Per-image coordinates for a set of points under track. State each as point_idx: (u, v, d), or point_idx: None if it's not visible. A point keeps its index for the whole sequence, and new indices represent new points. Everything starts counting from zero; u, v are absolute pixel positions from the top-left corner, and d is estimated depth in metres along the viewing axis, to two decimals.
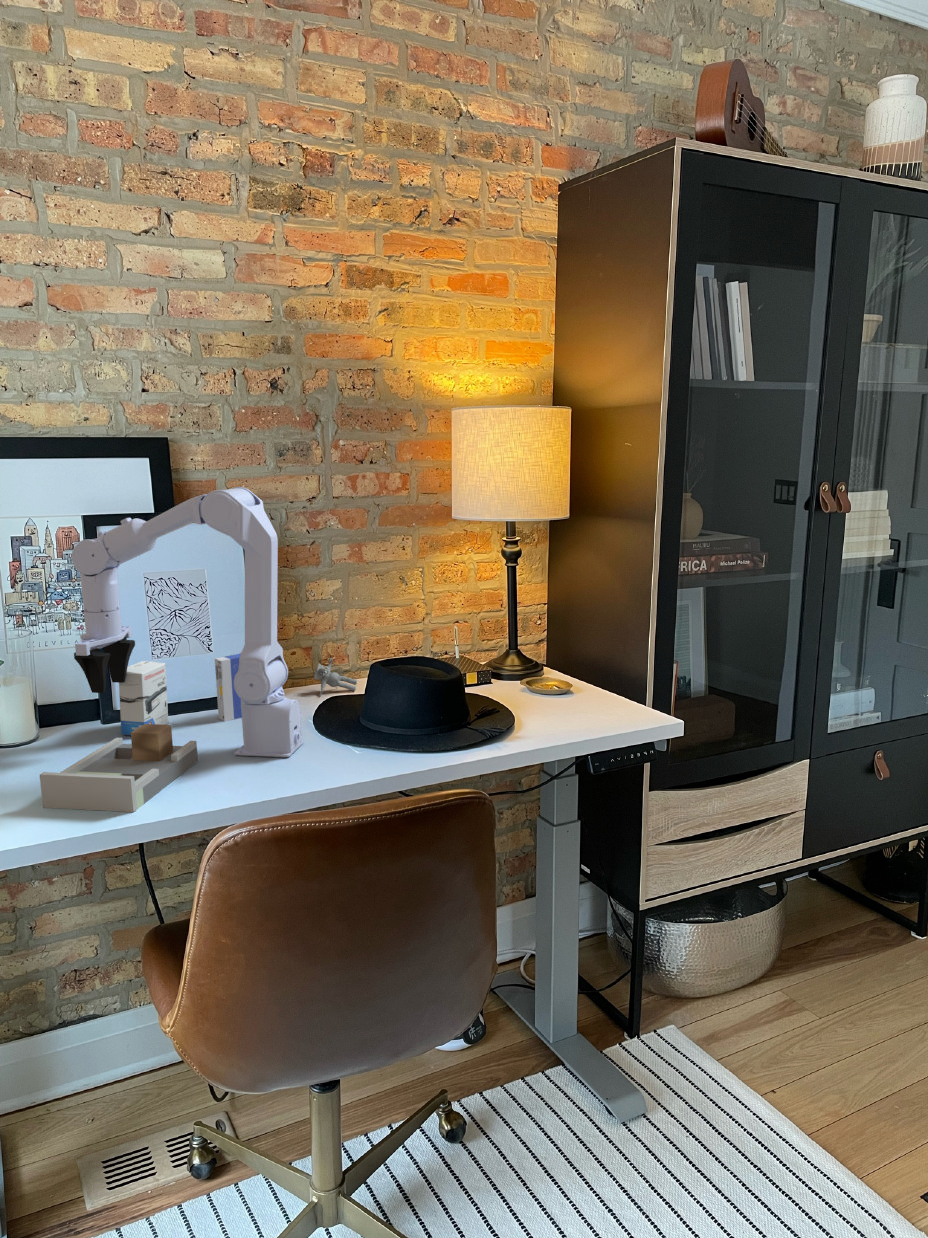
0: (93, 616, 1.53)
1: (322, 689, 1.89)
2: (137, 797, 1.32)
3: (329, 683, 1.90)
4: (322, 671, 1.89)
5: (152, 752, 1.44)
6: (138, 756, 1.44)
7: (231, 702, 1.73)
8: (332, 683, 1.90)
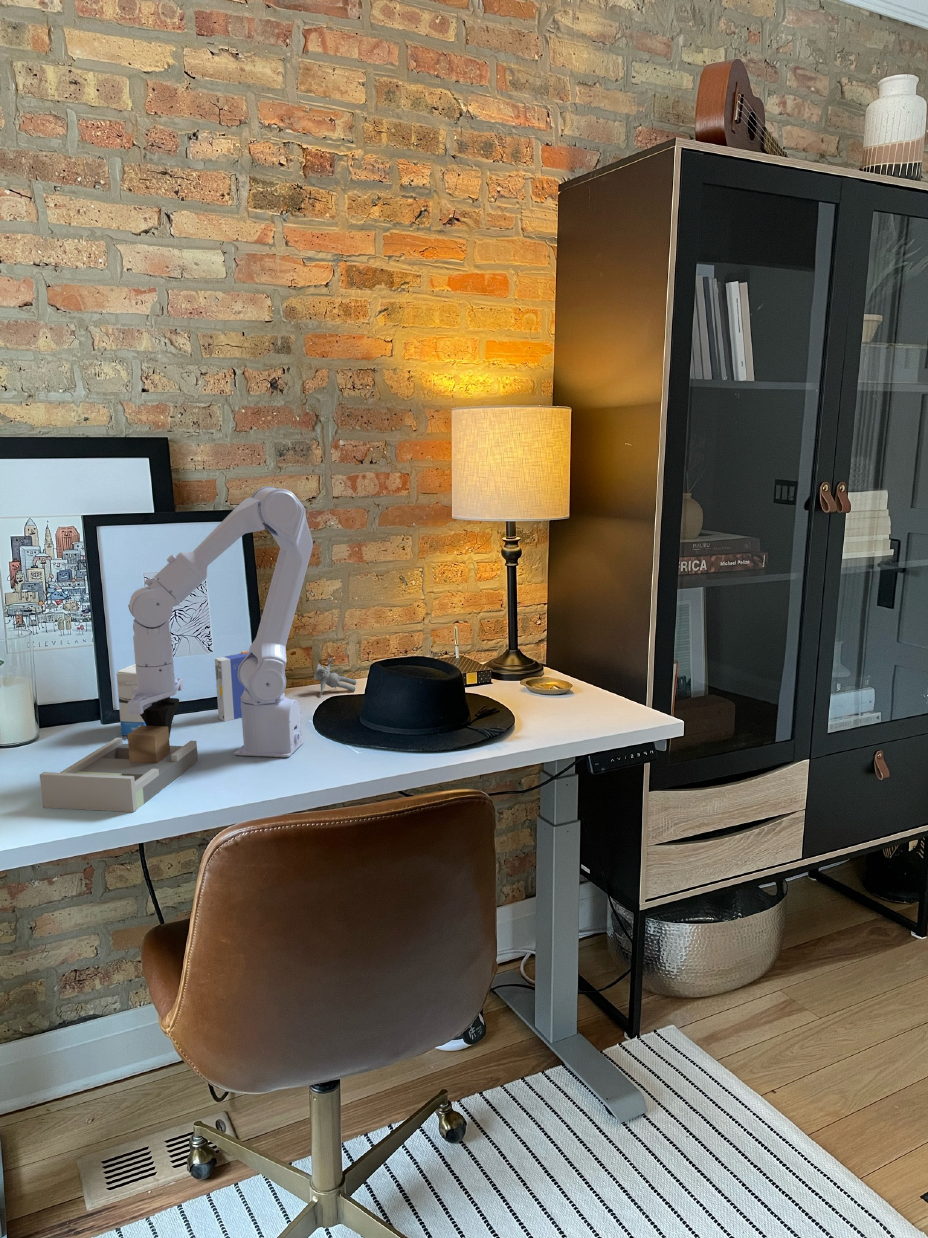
0: (146, 671, 1.44)
1: (322, 690, 1.88)
2: (137, 797, 1.32)
3: (329, 684, 1.90)
4: (322, 671, 1.89)
5: (149, 754, 1.43)
6: (135, 758, 1.44)
7: (231, 702, 1.73)
8: (331, 683, 1.90)
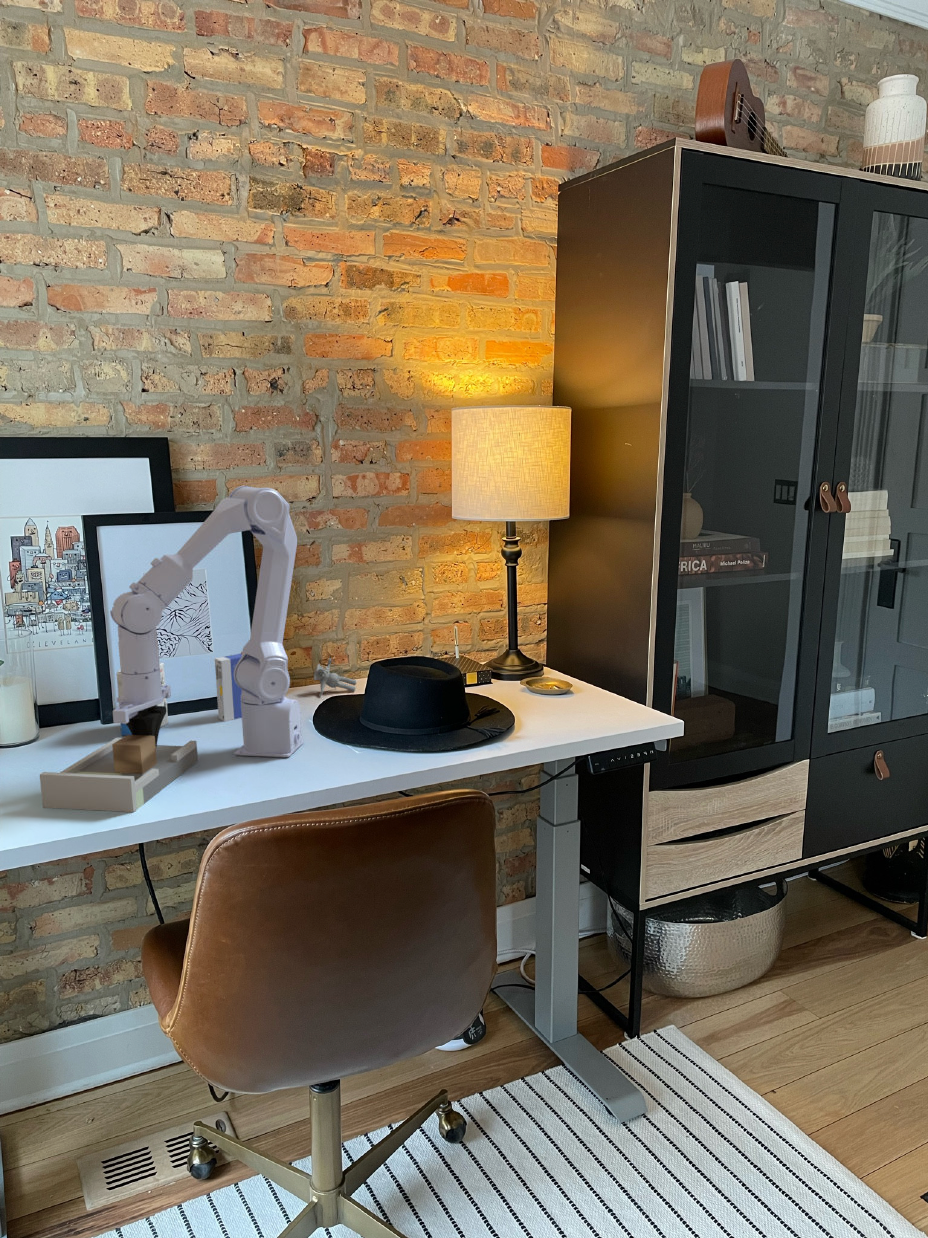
0: (131, 678, 1.39)
1: (322, 690, 1.88)
2: (137, 797, 1.32)
3: (329, 684, 1.90)
4: (322, 672, 1.88)
5: (135, 764, 1.39)
6: (120, 768, 1.39)
7: (231, 702, 1.73)
8: (331, 683, 1.89)
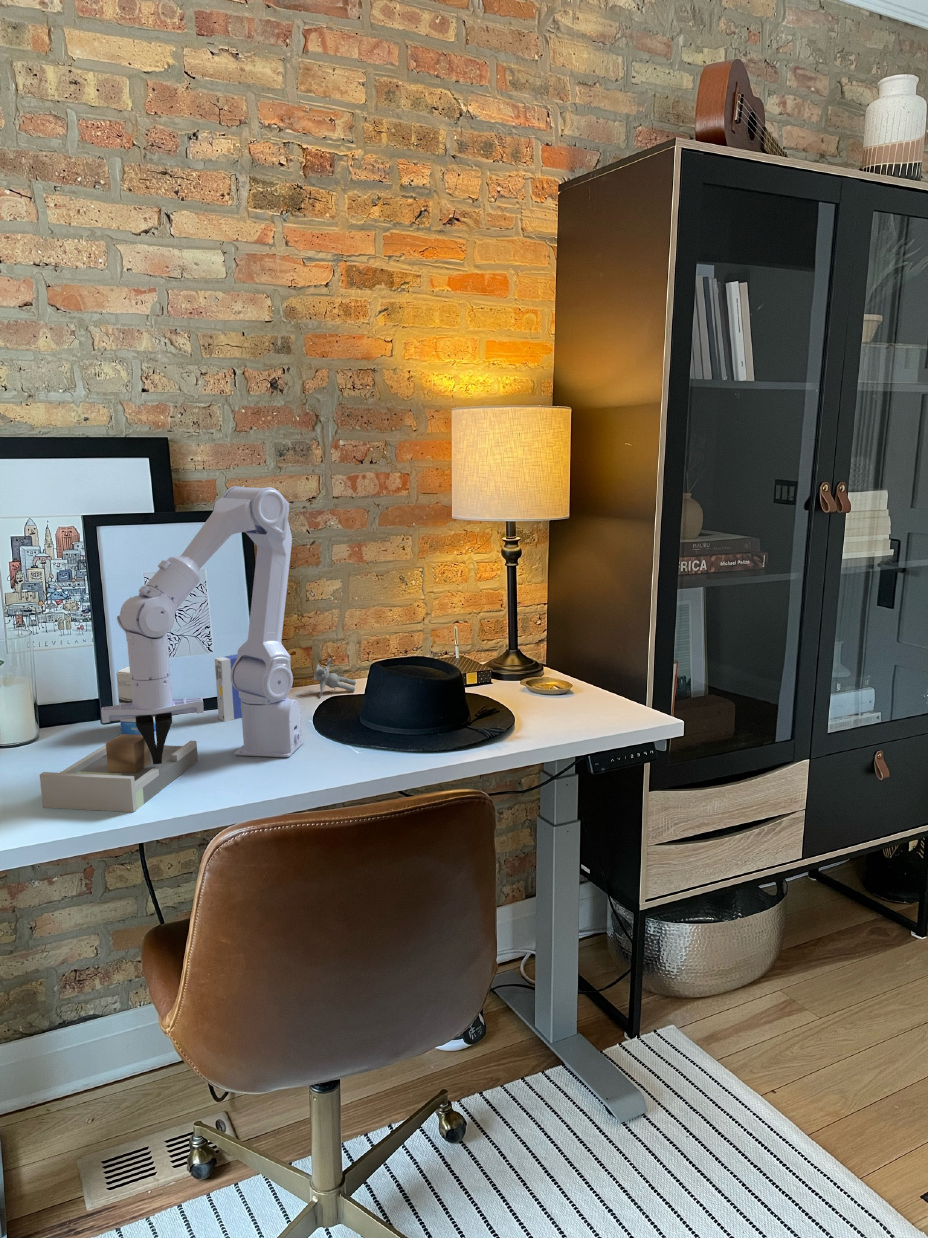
0: None
1: (322, 690, 1.88)
2: (137, 797, 1.32)
3: (329, 684, 1.90)
4: (321, 672, 1.88)
5: (128, 763, 1.39)
6: (114, 767, 1.39)
7: (231, 702, 1.73)
8: (331, 683, 1.89)
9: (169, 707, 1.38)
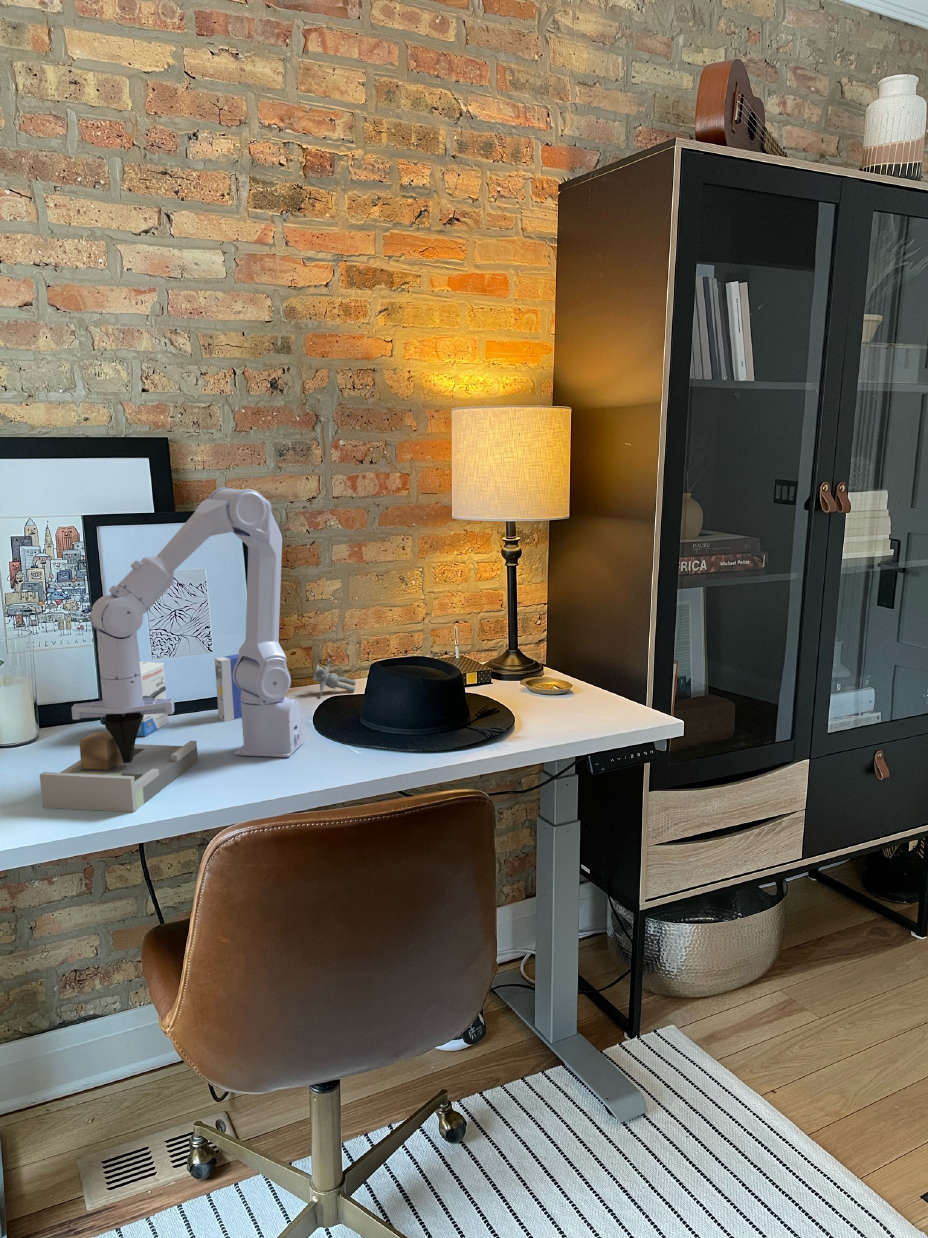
0: None
1: (322, 690, 1.88)
2: (137, 797, 1.32)
3: (328, 685, 1.89)
4: (321, 672, 1.88)
5: (101, 760, 1.40)
6: (87, 764, 1.40)
7: (231, 702, 1.73)
8: (331, 684, 1.89)
9: (136, 707, 1.38)
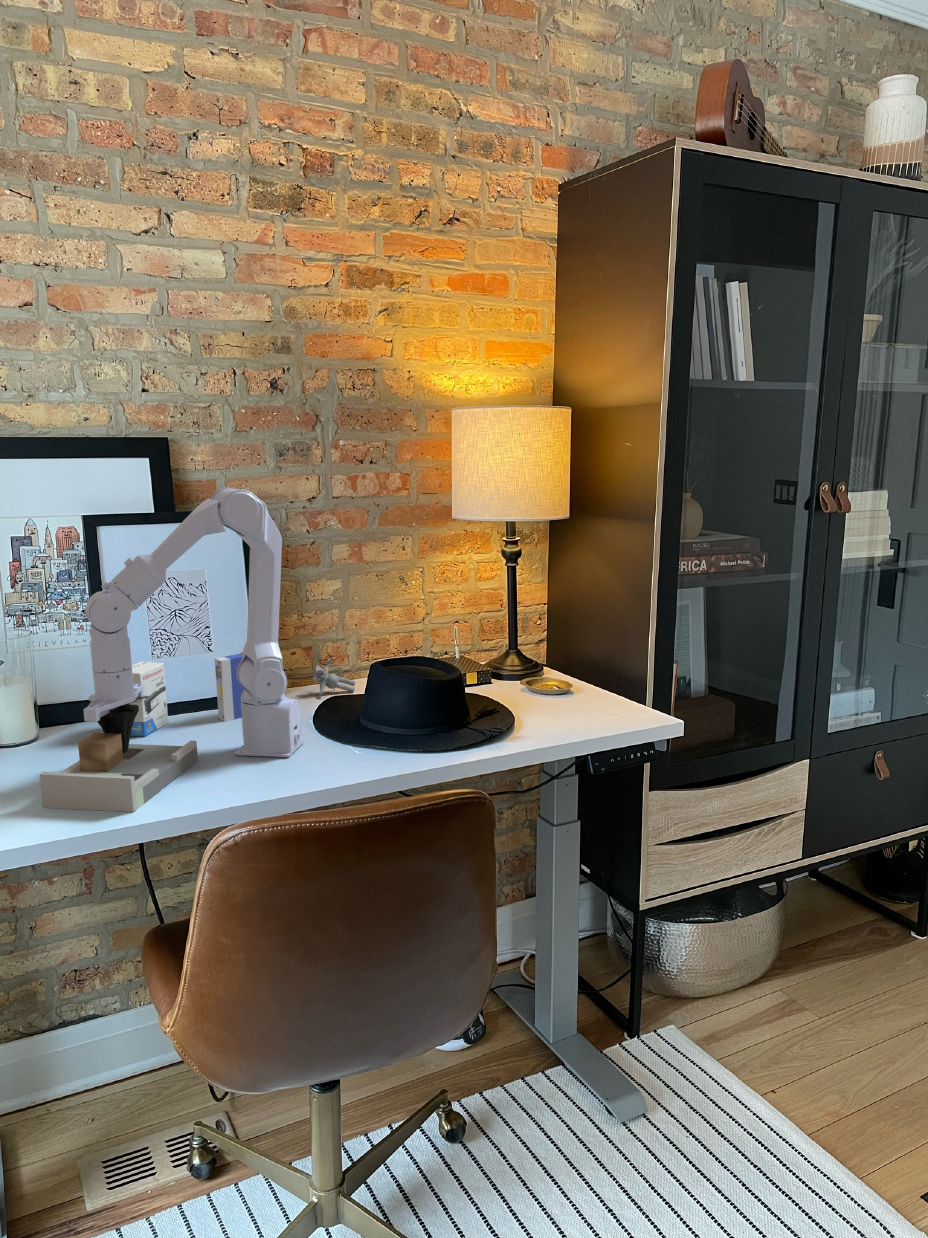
0: (103, 677, 1.40)
1: (321, 691, 1.87)
2: (137, 797, 1.32)
3: (328, 685, 1.89)
4: (321, 673, 1.88)
5: (100, 762, 1.40)
6: (86, 766, 1.40)
7: (231, 702, 1.73)
8: (331, 684, 1.89)
9: (136, 693, 1.46)
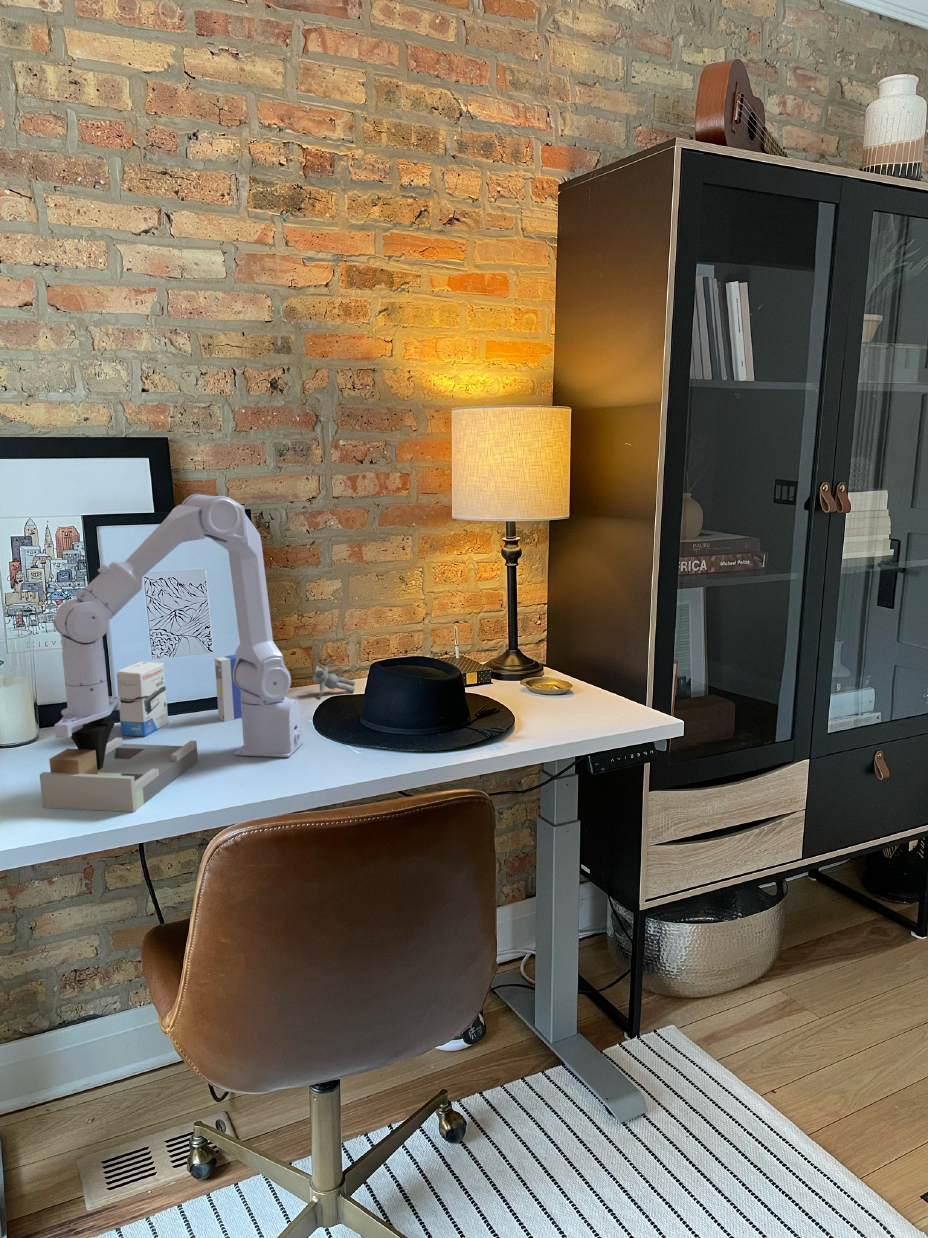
0: (76, 690, 1.33)
1: (321, 691, 1.87)
2: (137, 797, 1.32)
3: (328, 685, 1.89)
4: (321, 673, 1.87)
5: None
6: None
7: (231, 702, 1.73)
8: (331, 684, 1.88)
9: (112, 706, 1.39)
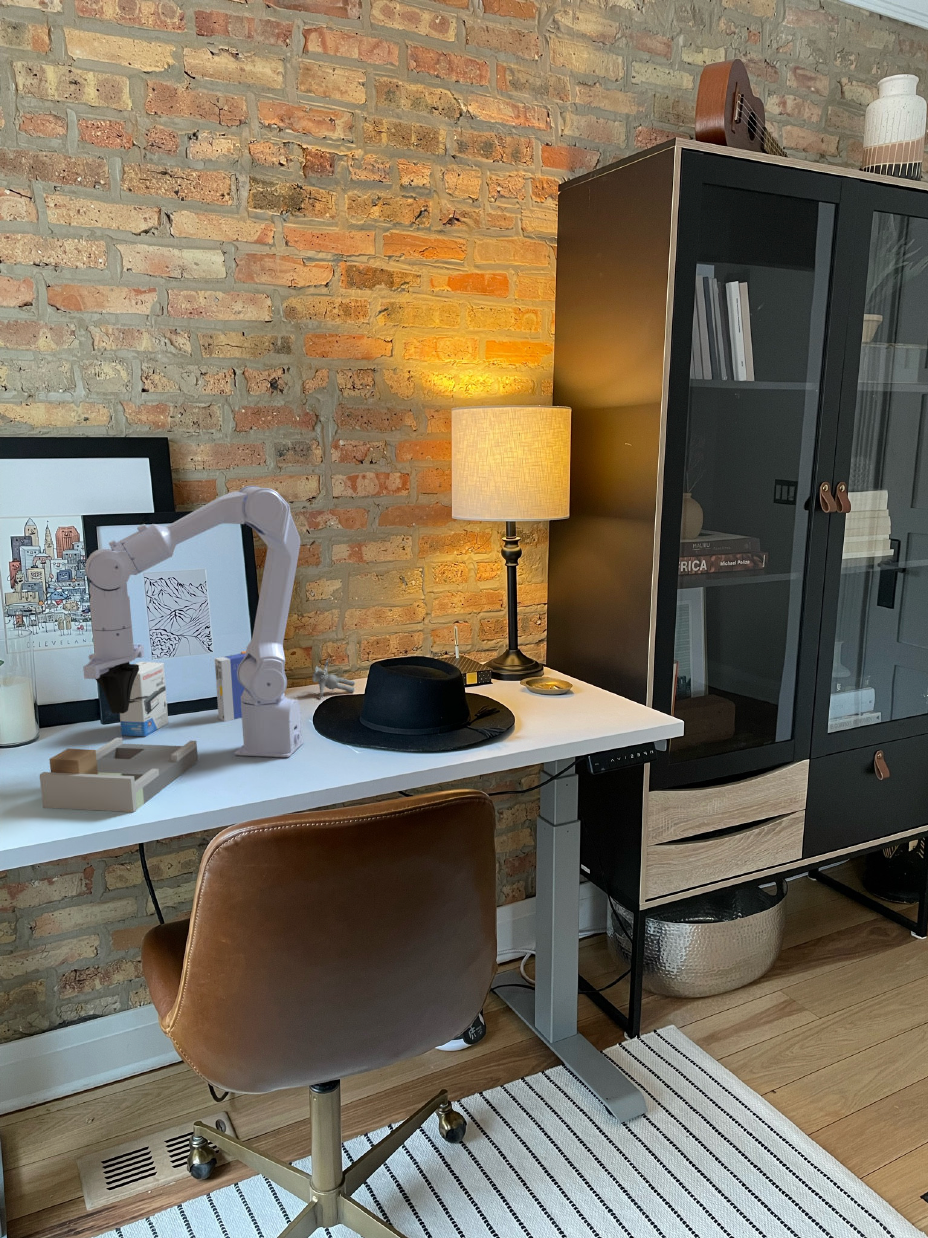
0: (103, 635, 1.40)
1: (321, 692, 1.87)
2: (137, 797, 1.32)
3: (328, 686, 1.89)
4: (321, 673, 1.87)
5: None
6: None
7: (231, 702, 1.73)
8: (330, 685, 1.88)
9: (136, 652, 1.45)
